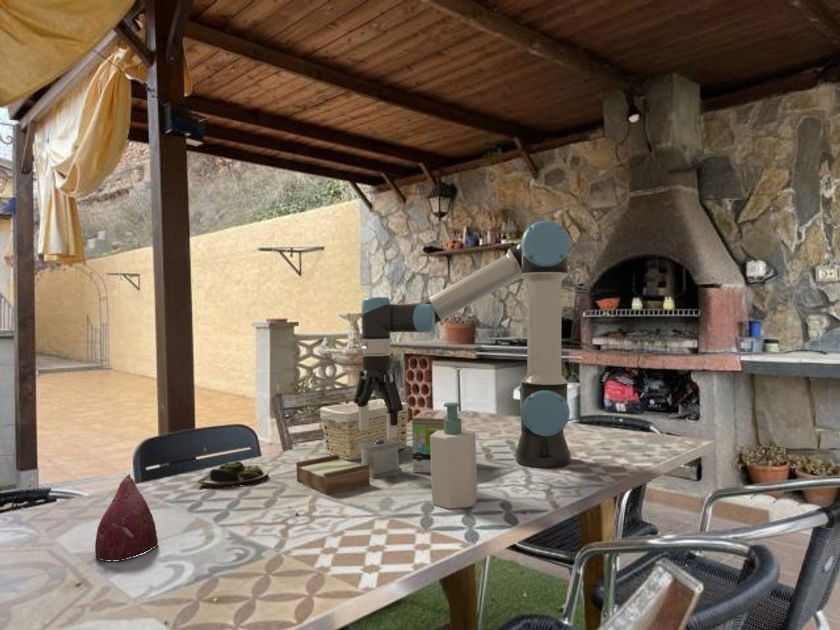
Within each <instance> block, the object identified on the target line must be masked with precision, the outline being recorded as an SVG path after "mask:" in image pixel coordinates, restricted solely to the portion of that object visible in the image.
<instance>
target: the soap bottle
mask: <svg viewBox="0 0 840 630" xmlns="http://www.w3.org/2000/svg"><path fill="white" fill-rule="evenodd" d="M443 407H444V408H446V410H447V419H444V430H437V431H436V432H434V433H433V434H432V435H431V436H430V446H431V473H430V474H431V498H432V499H431V500H432V501H431V503H432V505H434V506H437V507H440V508H444V509H447V510H457V509H465V508H466V509H467V508H472V507H473V506H474V504H475V503H476V502H477V501H478V477H477V476H478V475H477V471H478V470H477V445H476V432H475V431H474V430H467V429H462V419H461V418H459V417H458V408H459V407H461V404H460V403H459V402H445V403H444V404H443Z"/></svg>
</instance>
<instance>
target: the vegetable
mask: <svg viewBox="0 0 840 630" xmlns="http://www.w3.org/2000/svg"><path fill="white" fill-rule="evenodd" d="M119 483H120V484H119V485H118V488H117V491H116V492H115V495H114V497H113V499H112V501H111V502H110V504H109V506H108V507H107V509H106V510H105V512H104V514H103V515H102V518H101V520H100V521H99V523H98V526H97V529H96V536H95V537H96V538H95V544H94V550H95V551H94V552H95V553H94V554H95V557H96V556H97V557H98V558H100V559H103V560H111V561H113V560H122V559H126V558H129V557H133V556H136V555H139V554H141V553H144V552H146V551H148V550H150V549H151V548H153V547H155V546H156V545H157V544H158V545H159V543H158V536H157V529H156V523H155V519H154V517H153V513H152V512H151V508H150V507H149V505H148V503H147V501H146V500H145V498H144V496H143V495H142V493H141V492H140V490H139V488H138V487H137V484H136V482H135V481H134V479H133V478H132V477H131V474H127V475H126V476H125V477H124V478H123V479H122V480H121V482H119ZM158 545H157V546H158ZM97 557H96V558H97Z"/></svg>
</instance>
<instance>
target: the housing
mask: <svg viewBox="0 0 840 630" xmlns="http://www.w3.org/2000/svg"><path fill="white" fill-rule="evenodd" d="M400 446H401V442H399V441H395V440H391V439H387V438H385V439H379V440H373V441H368V442H362V443H358V448H361V458H360V459H361V463H360V464H361V465H366V464H368V465H369V479H378V478H381V477H382V478H383V477H386V476H392V475H396V474H401V473H402V467H400V465H399V464H400V463H399V457H400V456H399V449H398V447H400ZM361 465H360V466H361ZM395 473H396V474H395ZM391 474H392V475H391Z"/></svg>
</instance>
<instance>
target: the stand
mask: <svg viewBox="0 0 840 630" xmlns="http://www.w3.org/2000/svg"><path fill="white" fill-rule="evenodd" d="M295 466H296V482H297V481H298V482H297V483H299V482H300V484H302V483H303V485H304V484H305V485H304V486H306V485H307V487H308V486H309V487H308V488H310V487H311V488H310V489H313V490H315V491H317V490H318V491H317V492H319V491H320V493H322V494H324V495H326V496H329V495H332V494H337V493H342V492H345V491H350V490H353V489H358V488H363V487H368V486H371V485H370V484H371V483H370V479H371V478H370V477H369V465H368V464H366V465H360V464H359V465H358V464H356V463H352V462H349V461H348V460H345V459H342V458H340V457H339V455H327V456H322V457H316V458H311V459H305V460H301V461H296V465H295Z"/></svg>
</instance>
